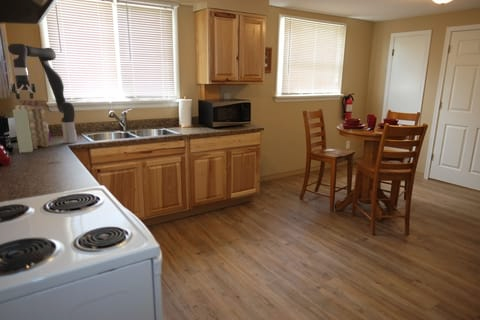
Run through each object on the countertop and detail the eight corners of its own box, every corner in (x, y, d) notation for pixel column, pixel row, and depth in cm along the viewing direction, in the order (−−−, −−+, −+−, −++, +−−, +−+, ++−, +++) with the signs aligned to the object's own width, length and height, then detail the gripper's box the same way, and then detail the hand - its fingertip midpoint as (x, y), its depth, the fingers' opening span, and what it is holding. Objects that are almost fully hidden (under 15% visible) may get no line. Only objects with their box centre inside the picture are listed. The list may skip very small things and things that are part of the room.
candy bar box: (36, 143, 267) (33, 123, 264) (33, 142, 270) (30, 123, 266) (50, 141, 276) (48, 122, 273) (47, 140, 279) (45, 121, 275)
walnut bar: (20, 105, 247) (19, 99, 246) (25, 104, 251) (25, 99, 250) (41, 106, 237) (41, 100, 236) (47, 105, 240) (46, 100, 239)
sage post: (20, 150, 238) (13, 109, 231) (32, 149, 242) (26, 109, 235) (19, 152, 232) (12, 110, 224) (32, 151, 236) (26, 110, 228)
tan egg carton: (20, 147, 251) (14, 105, 244) (36, 144, 262) (30, 104, 254) (34, 148, 245) (27, 106, 237) (49, 146, 255) (43, 105, 248)
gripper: (29, 75, 227) (32, 98, 231) (7, 74, 215) (10, 99, 219) (35, 74, 224) (38, 98, 227) (13, 74, 212) (17, 99, 215)
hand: (25, 99), depth 223 cm, fingers open, 8 cm apart
